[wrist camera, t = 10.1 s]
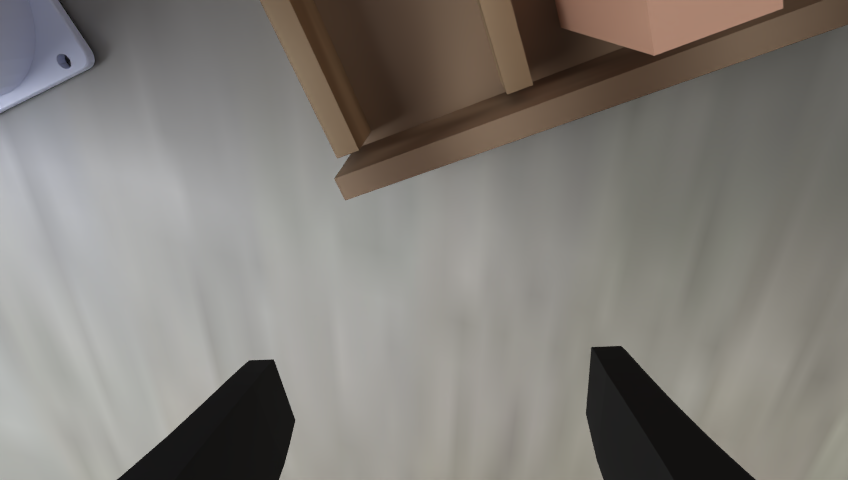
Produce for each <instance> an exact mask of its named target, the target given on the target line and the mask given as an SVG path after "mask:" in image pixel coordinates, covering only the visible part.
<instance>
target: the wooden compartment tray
mask: <svg viewBox="0 0 848 480" xmlns="http://www.w3.org/2000/svg"><path fill="white" fill-rule="evenodd" d="M260 2H261V4H262V6H263V8H264V10H265V12H266V14H267V16H268V18H269V20H270V22H271V24H272V26H273V28H274V30H275V32H276V35H277V37H278V39H279V41H280V43H281V45H282V47H283V49H284V51H285V53H286V55H287V57H288V59H289V61H290V63H291V65H292V67H293V69H294V71H295V73H296V75H297V77H298V79H299V81H300V83H301V85H302V87H303V90H304V92H305V94H306V96H307V98H308V100H309V102H310V104H311V106H312V108H313V110H314V112H315V114H316V116H317V118H318V120H319V122H320V124H321V126H322V128H323V130H324V132H325V134H326V136H327V138H328V140H329V142H330V145H331V147H332V149H333V151H334V153H335V155H336V157H337V158H340V157H343V156H345V155H348V154H351V155H350V156H349V158H348V159H347V161H346V162H345V164H344V165H343V167H342V168H341V170H340V171H339V172H338V174H337V175H336V177H335V178H334V179H335V181H336V183H337V185H338V187H339V189H340V191H341V193H342V195H343V197H344V199H345V200H348V199H351V198H353V197H356V196H359V195H362V194H365V193H368V192H371V191H373V190H376V189H379V188H382V187H385V186H388V185H391V184H393V183H396V182H399V181H402V180H405V179H408V178H411V177H413V176H416V175H419V174H422V173H425V172H428V171H431V170H433V169H436V168H439V167H442V166H445V165H448V164H451V163H453V162H456V161H459V160H462V159H465V158H468V157H471V156H473V155H476V154H479V153H482V152H485V151H488V150H491V149H493V148H496V147H499V146H502V145H505V144H508V143H511V142H513V141H516V140H519V139H522V138H525V137H528V136H531V135H533V134H536V133H539V132H542V131H545V130H548V129H551V128H553V127H556V126H559V125H562V124H565V123H568V122H571V121H573V120H576V119H579V118H582V117H585V116H588V115H591V114H593V113H596V112H599V111H602V110H605V109H608V108H611V107H613V106H616V105H619V104H622V103H625V102H628V101H631V100H633V99H636V98H639V97H642V96H645V95H648V94H651V93H653V92H656V91H659V90H662V89H665V88H668V87H670V86H673V85H676V84H679V83H682V82H685V81H688V80H690V79H693V78H696V77H699V76H702V75H705V74H708V73H710V72H713V71H716V70H719V69H722V68H725V67H728V66H730V65H733V64H736V63H739V62H742V61H745V60H748V59H750V58H753V57H756V56H759V55H762V54H765V53H768V52H770V51H773V50H776V49H779V48H782V47H785V46H788V45H790V44H793V43H796V42H799V41H802V40H805V39H808V38H810V37H813V36H816V35H819V34H822V33H825V32H828V31H830V30H833V29H836V28H839V27H842V26H845V25H848V0H783V9H780V10H777V11H775V12H772V13H769V14H766V15H764V16H761V17H758V18H756V19H753V20H750V21H747V22H745V23H742V24H739V25H737V26H734V27H731V28H728V29H726V30H723V31H720V32H718V33H715V34H712V35H709V36H707V37H704V38H701V39H699V40H696V41H693V42H690V43H688V44H685V45H682V46H680V47H677V48H674V49H671V50H669V51H666V52H663V53H661V54H658V55H655V56H653V55H650V54H647V53H643V52H640V51H637V50H634V49H630V48H627V47H624V46H620V45H617V44H614V43H610V42H607V41H604V40H600V39H597V38H594V37H590V36H587V35H584V34H580V33H577V32H574V31H570V30H567V29H564V28H561V26H560V22H559V17H558V13H557V8H556V4H555V0H260Z"/></svg>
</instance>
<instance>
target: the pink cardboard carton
mask: <svg viewBox="0 0 848 480" xmlns="http://www.w3.org/2000/svg"><path fill="white" fill-rule="evenodd" d="M555 4H556V8H557V13H558V17H559V22H560V26H561V28H564V29H567V30H570V31H574V32H577V33H580V34H584V35H587V36H590V37H594V38H597V39H600V40H604V41H607V42H610V43H614V44H617V45H620V46H624V47H627V48H630V49H634V50H637V51H640V52H643V53H647V54H650V55H653V56H655V55H658V54H661V53H663V52H666V51H669V50H671V49H674V48H677V47H680V46H682V45H685V44H688V43H690V42H693V41H696V40H699V39H701V38H704V37H707V36H709V35H712V34H715V33H718V32H720V31H723V30H726V29H728V28H731V27H734V26H737V25H739V24H742V23H745V22H747V21H750V20H753V19H756V18H758V17H761V16H764V15H766V14H769V13H772V12H775V11H777V10H780V9H783V0H555Z"/></svg>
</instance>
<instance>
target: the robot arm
mask: <svg viewBox="0 0 848 480" xmlns="http://www.w3.org/2000/svg"><path fill="white" fill-rule="evenodd" d="M65 55H66V56H67V57H68V58H69V59H70V61H71V66H69V65H68V64H67V63H66V60H65ZM94 62H95V59H94V54H93V52H92V50H91V49H90V47H89V46H88V44H87V43H86V41H85V40H84V38H83V37H82V35H81V34H80V32H79V31H78V29H77V28H76V26H75V25H74V23H73V22H72V20H71V19H70V17H69V16H68V14H67V13H66V11H65V10H64V8H63V7H62V5H61V4H60V2H59V1H58V0H0V113H2V112H4V111H6V110H8V109H10V108H12V107H14V106H16V105H18V104H20V103H22V102H24V101H26V100H28V99H30V98H32V97H34V96H36V95H38V94H40V93H42V92H44V91H46V90H48V89H50V88H52V87H54V86H56V85H58V84H60V83H62V82H64V81H66V80H68V79H70V78H72V77H74V76H76V75H78V74H80V73H82V72H84V71H86V70H88V69H90V68H91V67H92V66H93V65H94ZM586 416H587V420H588V424H589V429H590V433H591V438H592V442H593V446H594V450H595V454H596V458H597V462H598V465H599V468H600V471H601V473H602V476H603V479H604V480H755V479H754V478H753V477H752V476H751V475H750V474H749V473H747V472H746V471H745V470H744V469H743V468H742V467H741V466H740V465H739V464H738V463H736V462H735V461H734V460H733V459H732V458H731V457H730V456H729V455H728V454H727V453H725V452H724V451H723V450H722V449H721V448H720V447H719V446H718V445H717V444H716V443H715V442H714V441H713V440H712V439H711V438H710V437H708V436H707V435H706V434H705V433H704V432H703V431H702V430H701V429H700V428H699V427H698V426H697V425H696V424H695V423H694V422H693V421H692V420H691V419H690V418H689V417H688V416H687V415H686V414H685V413H684V412H683V411H682V410H681V409H680V408H679V407H678V406H677V405H676V404H675V403H674V402H673V401H672V400H671V399H670V398H669V397H668V396H667V395H666V393H665V392H664V391H663V390H662V389H661V388H660V387H659V386H658V385H657V384H656V383H655V382H654V381H653V380H652V379H651V378H650V376H649V375H648V374H647V373H646V372H645V371H644V370H643V369H642V368H641V367H640V366H639V364H638V363H637V362H636V361H635V360H634V359H633V358H632V357H631V356H630V355H629V353H628V352H627V351H626V350H625V349H624V348H623V347H621V346H610V347H591V360H590V372H589V384H588V396H587V408H586ZM294 423H295V418H294V415H293V413H292V410H291V407H290V404H289V401H288V398H287V396H286V393H285V390H284V387H283V384H282V382H281V379H280V376H279V373H278V370H277V367H276V365H275V362H274V360H250V361H248V362H247V363H246V364H245V365H243V366H242V367H241V368H240V369H239V370H238V371H237V372H236V373H235V374H234V375H232V376H231V377H230V378H229V379H228V380H227V381H226V382H225V383H224V384H223V385H222V386H221V387H220V388H219V389H218V390H217V391H216V392H214V393H213V394H212V395H211V396H210V397H209V398H208V399H207V400H206V401H205V402H204V403H203V404H202V405H201V406H200V407H199V408H197V409H196V410H195V411H194V412H193V413H192V414H191V415H190V416H189V417H188V418H187V419H186V420H185V421H183V422H182V423H181V424H180V425H179V426H178V427H177V428H176V429H175V430H174V431H173V432H172V433H171V434H169V435H168V436H167V437H166V438H165V439H164V440H163V441H161V442H160V443H159V444H158V445H157V446H156V447H155V448H153V449H152V450H151V451H150V452H149V453H148V454H146V455H145V456H144V457H143V458H142V459H141V460H140V461H138V462H137V463H136V464H135V465H134V466H133V467H131V468H130V469H129V470H128V471H127V472H126V473H125V474H123V475H122V476H121V477H120V478H119V479H117V480H279V477H280V475H281V472H282V469H283V467H284V464H285V460H286V456H287V452H288V448H289V445H290V440H291V436H292V432H293V428H294Z"/></svg>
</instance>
